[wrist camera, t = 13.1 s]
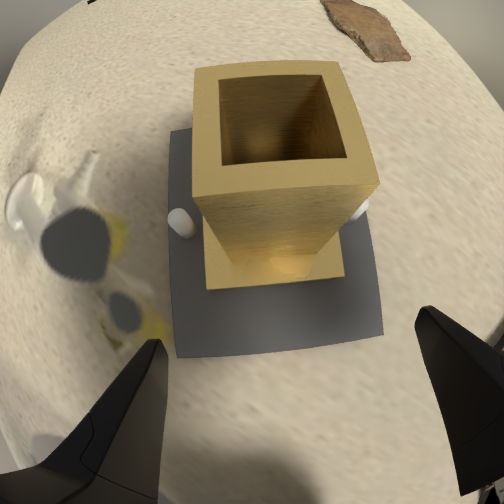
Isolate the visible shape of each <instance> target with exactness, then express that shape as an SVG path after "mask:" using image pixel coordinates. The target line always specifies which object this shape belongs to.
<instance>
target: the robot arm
mask: <svg viewBox="0 0 504 504" xmlns="http://www.w3.org/2000/svg"><path fill="white" fill-rule="evenodd" d="M415 331H416V335H417V338H418V342H419V345H420V349H421V353H422V356H423V360H424V363H425V366H426V369H427V372H428V375H429V378H430V380H431V383H432V386H433V389H434V392H435V395H436V398H437V401H438V404H439V408H440V411H441V414H442V417H443V421H444V424H445V428H446V431H447V435H448V439H449V443H450V447H451V451H452V456H453V460H454V465H455V469H456V474H457V479H458V485H459V491H460V495H461V496H464V495H466V494H469V493H471V492H474V491H476V490H478V489H480V488H483V487H485V486H487V485H489V484H491V483H493V484H494V485H492V486H491V487H489V488H488V489H487V490H485V491H484V492H483V493H482V495H481V497H480V499H479V502H478V504H504V356H503V355H502V354H500V353H499V352H498V351H496V350H495V349H494V348H492V347H491V346H489V345H488V344H487V343H485V342H484V341H483V340H481V339H480V338H478V337H477V336H476V335H474V334H473V333H471V332H470V331H468V330H467V329H466V328H464V327H463V326H461V325H460V324H458V323H457V322H455V321H454V320H453V319H451V318H450V317H448V316H447V315H445V314H444V313H442V312H441V311H439V310H438V309H436V308H435V307H433V306H431V305H429V306H424V307H422V308H421V309H420V311H419V313H418V316H417V318H416V321H415ZM167 397H168V354H167V352H166V350H165V348H164V345H163V343H162V341H161V340H160V339H148V340H147V341H146V342H145V343H144V344H143V346H142V347H141V348H140V349H139V350H138V352H137V353H136V354H135V355H134V356H133V358H132V359H131V360H130V361H129V363H128V364H127V365H126V366H125V367H124V369H123V370H122V371H121V372H120V374H119V375H118V376H117V377H116V378H115V380H114V381H113V382H112V383H111V385H110V386H109V387H108V388H107V390H106V391H105V392H104V393H103V394H102V396H101V397H100V398H99V399H98V401H97V402H96V403H95V404H94V406H93V407H92V408H91V409H90V411H89V412H90V413H89V412H88V413H87V414H86V416H85V417H84V418H83V419H82V421H81V422H80V423H79V424H78V425H77V427H76V428H75V429H74V430H73V431H72V432H71V433H70V434H69V435H68V437H67V438H66V439H65V440H64V441H63V442H62V443H61V444H60V445H59V446H58V447H57V448H56V449H55V450H54V451H53V452H52V453H51V454H50V455H49V456H48V457H47V458H46V459H45V460H44V461H42V462H41V463H39V464H38V465H35V466H33V467H30V468H26V469H22V470H18V471H14V472H9V473H5V474H0V504H157V503H158V502H157V499H158V486H159V473H160V461H161V451H162V441H163V432H164V423H165V415H166V407H167Z"/></svg>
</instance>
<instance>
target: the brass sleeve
mask: <svg viewBox="0 0 504 504" xmlns="http://www.w3.org/2000/svg"><path fill="white" fill-rule="evenodd" d="M379 184H380V181H379V177H378V174H377V170H376V166H375V163H374V159H373V156H372V153H371V149H370V146H369V143H368V140H367V137H366V134H365V131H364V128H363V125H362V122H361V119H360V116H359V113H358V111H357V108H356V105H355V102H354V100H353V97H352V95H351V92H350V90H349V87H348V85H347V82H346V80H345V77H344V75H343V73H342V70H341V68H340V66H339V63H338V62H333V61H309V60H284V61H259V62H245V63H234V64H225V65H217V66H209V67H202V68H196V69H195V76H194V97H193V127H192V198H193V199H194V201H195V203H196V204H197V206H198V208H199V210H200V211H201V213H202V215H203V235H204V255H205V272H206V287H207V290H209V291H214V290H227V289H239V288H250V287H261V286H272V285H282V284H292V283H302V282H311V281H320V280H329V279H338V278H342V277H344V276H345V274H344V266H343V259H342V252H341V245H340V239H339V232H338V230H339V229H340V228H341V227H342V226H343V225H344V224H345V223H346V222H347V221H348V219H349V218H350V217H351V216H352V215H353V214H354V213H355V212H356V211H357V209H358V208H359V207H360V206H361V205H362V204H363V203H364V202H365V200H366V199H367V198H368V197H369V196H370V195H371V194H372V193H373V191H374V190H375V189H376V188H377V187H378V186H379Z"/></svg>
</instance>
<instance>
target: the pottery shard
mask: <svg viewBox="0 0 504 504" xmlns="http://www.w3.org/2000/svg"><path fill="white" fill-rule="evenodd" d="M320 2H321V4H322V5H323V6H324V7H325V8H326V9H327V12H329V14H330V16H331V19H332V20H333V21H334V24H335V25H336V26H337V27H338V28H339V29H341V30H343V31H344V32H346V33H347V34H348V35H349V36H350V38H351V39H352V40H353V41H354V42H355V43H356V44H357V45H358V46H359V47H360V48H361V49H363V52H364V53H365V55H366V56H368V57H369V58H370V59H372V60H373V62H390V61H410V60H411V56H410V55H409V53H408V52H407V51H406V50H405V49H404V48H403V46H402V45H401V41H400V39H399V37H398V36H397V35H396V32H395V30H394V29H393V28H392V27H391V24H390V22H389V21H388V19H387V17H385V16H384V15H382V14H381V13H379V12H378V11H377V10H376V9H374V8H371V7H367V6H363V5H360V4H358V3H356V2H354V1H352V0H321V1H320Z"/></svg>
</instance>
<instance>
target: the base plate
mask: <svg viewBox="0 0 504 504" xmlns="http://www.w3.org/2000/svg"><path fill="white" fill-rule="evenodd" d="M368 207H369V199H368V198H367V199H366V200H365V202H364V203H363V204H362V205H361V206H360V207H359V208H358V209H357V211H356V212H355V213H354V214H353V215H352V216H351V217H350V218H349V219H348V221H347V222H346V223H345V224H344V225H343V226H342V227H341V228H340V229H339V230H338V232H339V239H340V245H341V252H342V259H343V266H344V274H345V276H344V277H342V278H338V279H329V280H320V281H311V282H302V283H292V284H282V285H272V286H261V287H250V288H239V289H227V290H214V291H209V290H207V287H206V272H205V255H204V235H203V215H202V213H201V211H200V210H199V208H198V206H197V204H196V203H195V201H194V199H193V198H192V128H189V129H183V130H178V131H172V132H171V134H170V155H169V192H168V218H167V221H168V225H169V263H170V283H171V299H172V313H173V325H174V336H175V346H176V355H177V358H202V357H222V356H237V355H250V354H261V353H271V352H280V351H289V350H297V349H305V348H312V347H319V346H325V345H332V344H338V343H344V342H349V341H355V340H360V339H365V338H370V337H375V336H380V335H384V333H383V321H382V311H381V302H380V293H379V285H378V278H377V271H376V264H375V258H374V252H373V246H372V240H371V235H370V230H369V225H368V220H367V215H366V209H367V208H368Z"/></svg>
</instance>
